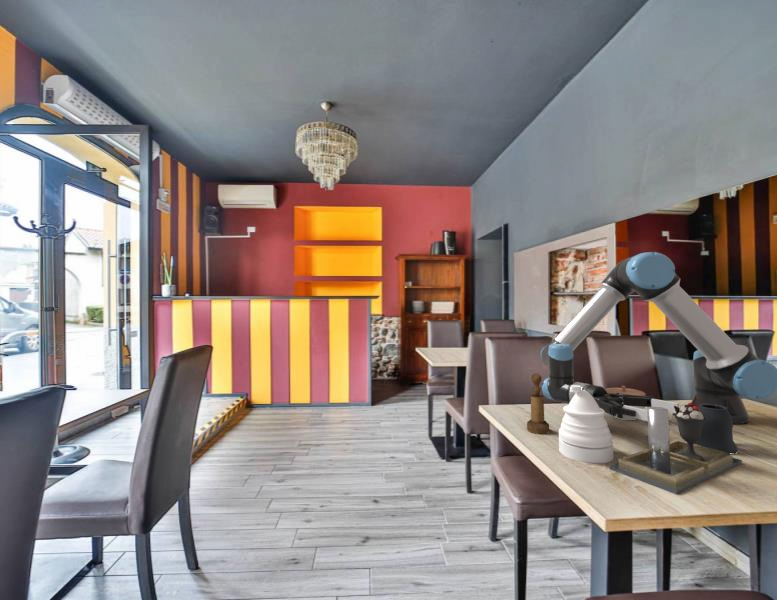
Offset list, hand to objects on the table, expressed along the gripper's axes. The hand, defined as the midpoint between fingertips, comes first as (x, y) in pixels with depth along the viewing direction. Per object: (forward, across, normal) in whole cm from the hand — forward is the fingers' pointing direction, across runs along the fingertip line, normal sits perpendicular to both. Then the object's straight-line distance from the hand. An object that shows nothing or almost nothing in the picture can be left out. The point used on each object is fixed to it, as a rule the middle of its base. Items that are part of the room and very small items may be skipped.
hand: (665, 412), depth 97 cm
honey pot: (-11, +18, -11) cm, 24 cm away
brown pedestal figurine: (-30, +14, -11) cm, 35 cm away
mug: (+4, -16, -11) cm, 20 cm away
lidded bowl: (-24, -22, -11) cm, 34 cm away
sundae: (+5, 0, -10) cm, 11 cm away
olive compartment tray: (+5, +7, -11) cm, 14 cm away
